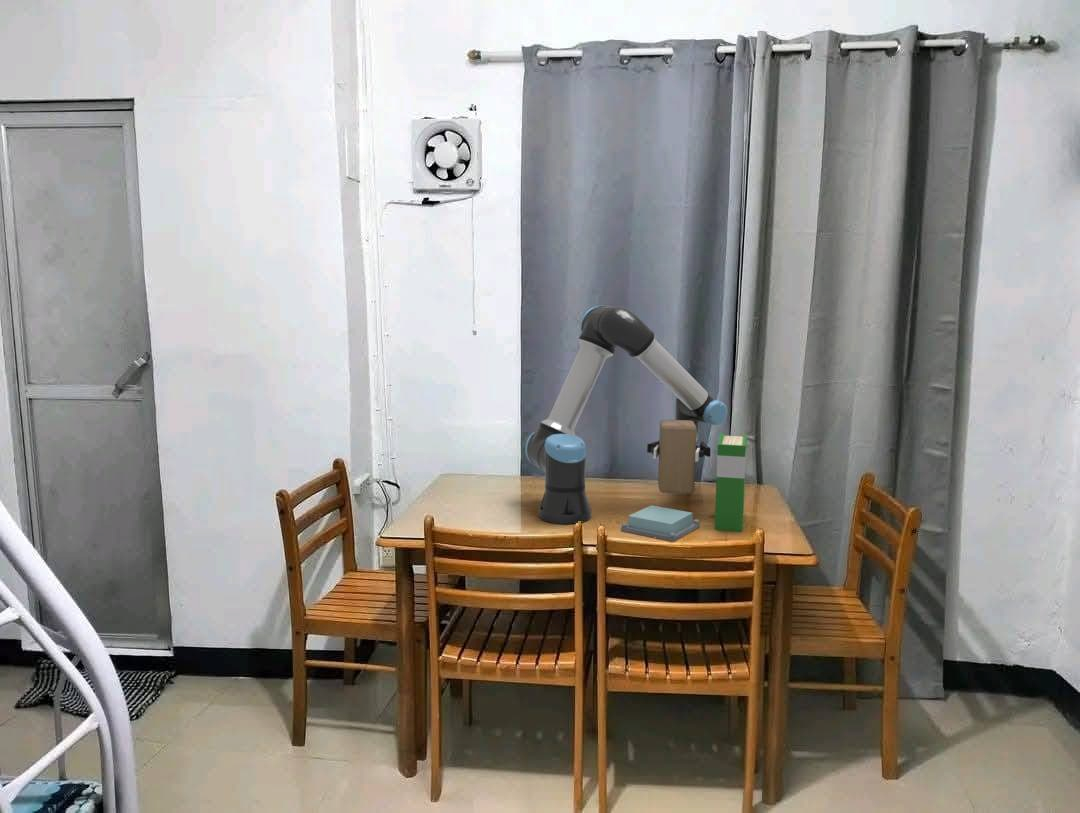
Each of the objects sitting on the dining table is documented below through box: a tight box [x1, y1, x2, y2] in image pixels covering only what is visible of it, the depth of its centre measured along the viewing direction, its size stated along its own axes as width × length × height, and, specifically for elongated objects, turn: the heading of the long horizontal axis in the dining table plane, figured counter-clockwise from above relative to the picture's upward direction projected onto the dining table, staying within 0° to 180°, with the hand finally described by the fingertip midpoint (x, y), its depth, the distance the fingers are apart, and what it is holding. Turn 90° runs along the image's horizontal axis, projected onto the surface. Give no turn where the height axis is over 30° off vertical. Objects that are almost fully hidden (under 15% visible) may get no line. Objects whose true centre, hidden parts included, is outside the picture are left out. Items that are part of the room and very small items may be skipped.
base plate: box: [620, 504, 701, 542], centre depth 221 cm, size 16×16×4 cm
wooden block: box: [657, 419, 697, 495], centre depth 232 cm, size 10×10×20 cm
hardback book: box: [714, 432, 748, 533], centre depth 226 cm, size 18×7×24 cm, turn 165°
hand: (675, 455), depth 228 cm, fingers closed on wooden block, 11 cm apart
